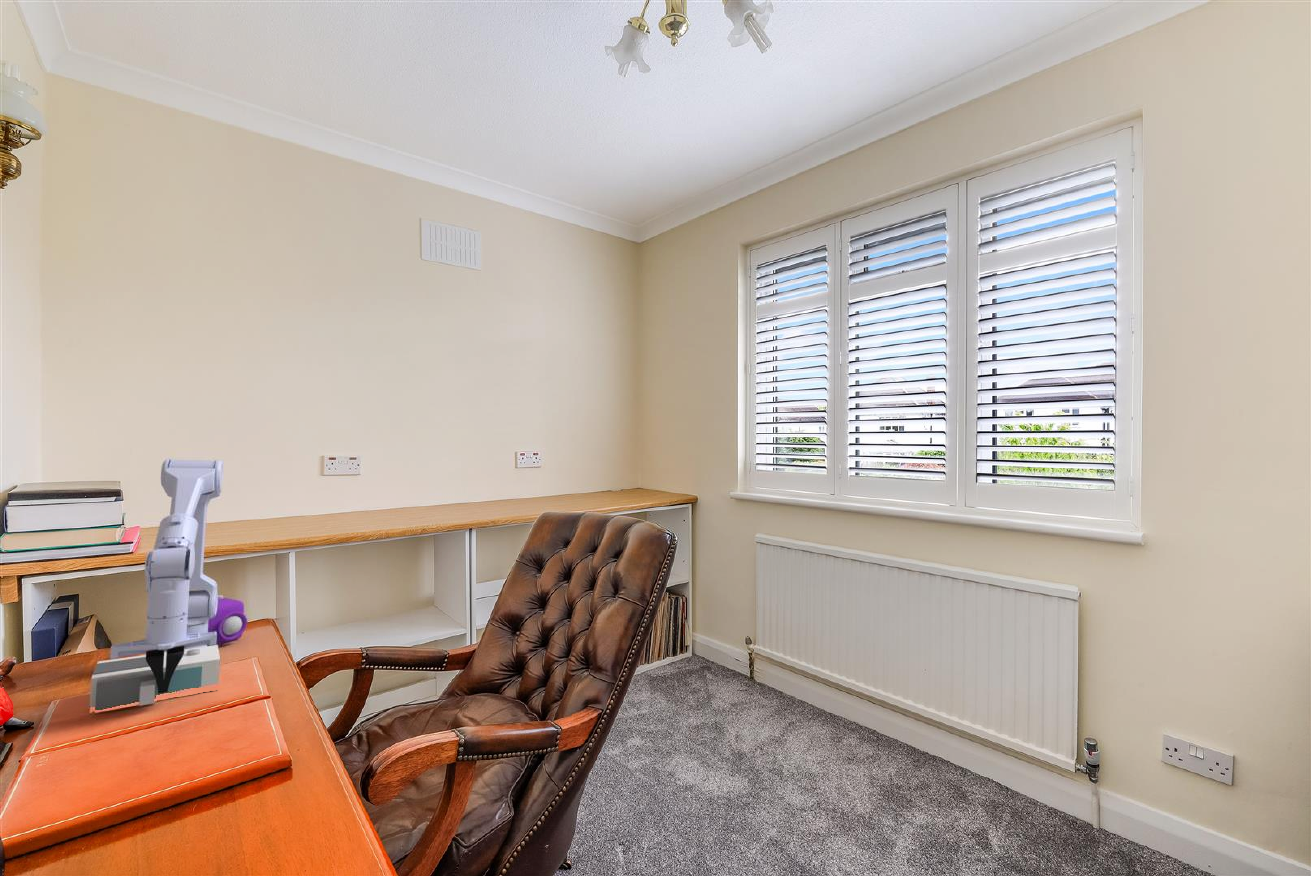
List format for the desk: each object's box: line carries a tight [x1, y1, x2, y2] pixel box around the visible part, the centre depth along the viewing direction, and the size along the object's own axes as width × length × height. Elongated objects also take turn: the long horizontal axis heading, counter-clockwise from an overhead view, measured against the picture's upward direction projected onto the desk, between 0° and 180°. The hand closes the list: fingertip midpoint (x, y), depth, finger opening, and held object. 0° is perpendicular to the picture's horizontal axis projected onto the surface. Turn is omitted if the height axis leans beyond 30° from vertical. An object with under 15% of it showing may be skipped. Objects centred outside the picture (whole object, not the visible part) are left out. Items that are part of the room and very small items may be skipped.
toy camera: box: [207, 594, 248, 646], centre depth 141 cm, size 11×14×10 cm
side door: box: [95, 672, 157, 710], centre depth 103 cm, size 4×8×5 cm, turn 129°
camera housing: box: [89, 644, 221, 708], centre depth 112 cm, size 10×18×7 cm, turn 129°
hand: (163, 691), depth 105 cm, fingers closed
